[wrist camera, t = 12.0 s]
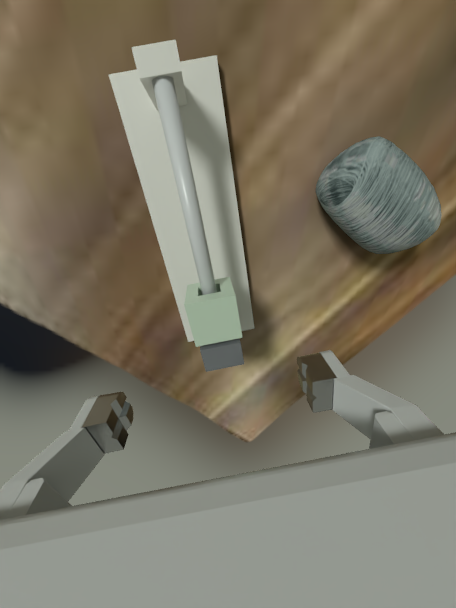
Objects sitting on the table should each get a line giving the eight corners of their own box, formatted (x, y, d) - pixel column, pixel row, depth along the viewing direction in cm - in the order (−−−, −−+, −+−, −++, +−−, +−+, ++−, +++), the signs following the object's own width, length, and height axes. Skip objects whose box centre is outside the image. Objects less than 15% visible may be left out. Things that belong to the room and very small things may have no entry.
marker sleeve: (229, 276, 27) (235, 294, 22) (235, 313, 29) (242, 337, 25) (187, 284, 27) (184, 305, 22) (197, 321, 29) (195, 346, 24)
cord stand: (216, 60, 22) (224, -22, 14) (253, 325, 35) (269, 367, 27) (112, 79, 22) (55, 8, 14) (188, 337, 35) (184, 384, 27)
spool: (289, 203, 25) (392, 178, 17) (324, 135, 27) (436, 82, 18) (341, 270, 33) (430, 274, 25) (366, 215, 34) (459, 202, 26)
